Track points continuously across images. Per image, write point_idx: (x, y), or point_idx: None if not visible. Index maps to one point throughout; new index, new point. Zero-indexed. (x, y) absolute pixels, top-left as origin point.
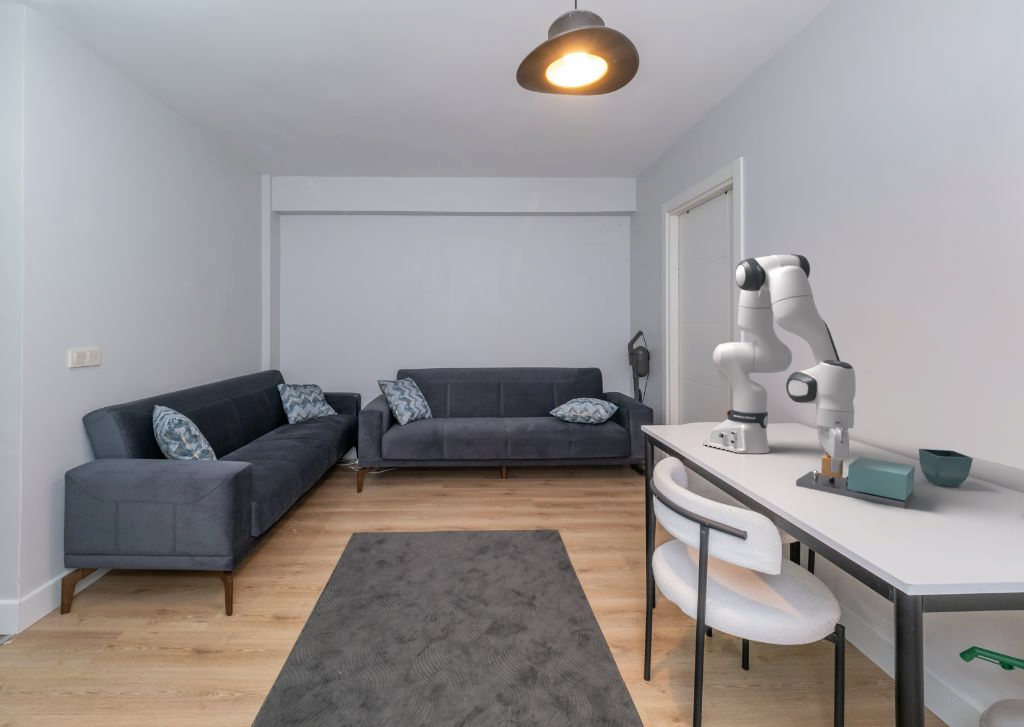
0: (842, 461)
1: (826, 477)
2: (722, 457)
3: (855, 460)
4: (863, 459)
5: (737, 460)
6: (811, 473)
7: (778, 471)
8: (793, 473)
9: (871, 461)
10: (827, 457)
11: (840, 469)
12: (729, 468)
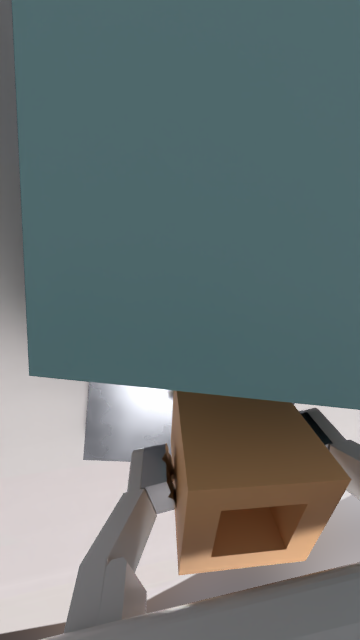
0: (274, 458)
1: (153, 406)
2: (55, 603)
3: (293, 399)
4: (174, 328)
5: (57, 583)
6: (123, 452)
7: (103, 506)
8: (93, 478)
9: (266, 219)
10: (219, 538)
11: (293, 413)
12: (166, 568)
